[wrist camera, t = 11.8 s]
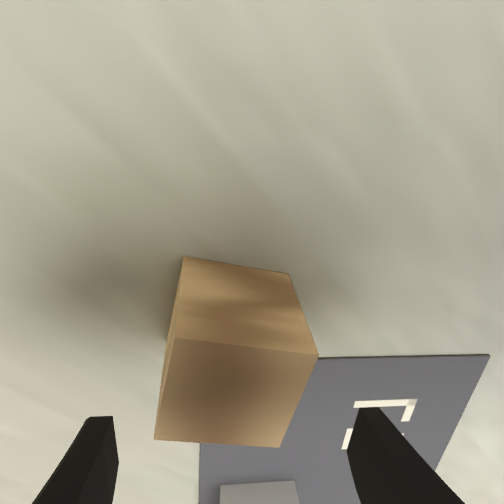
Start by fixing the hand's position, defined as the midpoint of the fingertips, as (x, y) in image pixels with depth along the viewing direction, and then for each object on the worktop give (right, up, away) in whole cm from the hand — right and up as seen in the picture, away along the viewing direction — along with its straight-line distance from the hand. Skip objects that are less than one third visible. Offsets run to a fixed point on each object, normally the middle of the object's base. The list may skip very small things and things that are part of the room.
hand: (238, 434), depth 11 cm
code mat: (+5, -7, +11) cm, 14 cm away
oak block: (-1, +3, +6) cm, 6 cm away
